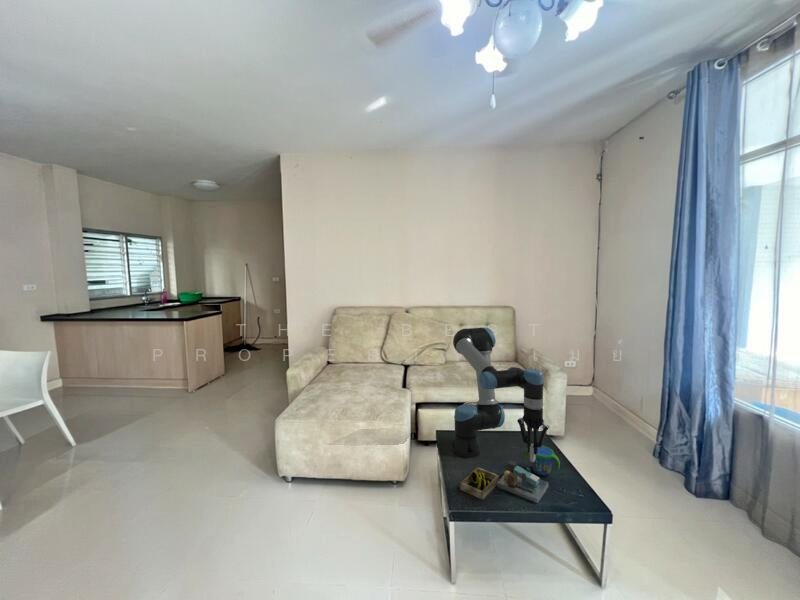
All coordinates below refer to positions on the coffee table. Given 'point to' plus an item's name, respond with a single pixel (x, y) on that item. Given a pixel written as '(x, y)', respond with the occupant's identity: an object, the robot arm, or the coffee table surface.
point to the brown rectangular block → (512, 479)
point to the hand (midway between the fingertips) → (532, 460)
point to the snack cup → (543, 460)
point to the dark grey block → (511, 466)
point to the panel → (525, 488)
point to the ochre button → (506, 474)
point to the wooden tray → (476, 492)
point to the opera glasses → (479, 480)
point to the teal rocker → (527, 475)
